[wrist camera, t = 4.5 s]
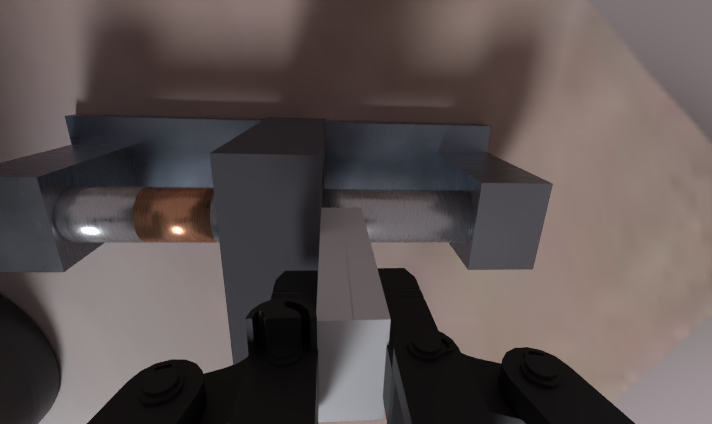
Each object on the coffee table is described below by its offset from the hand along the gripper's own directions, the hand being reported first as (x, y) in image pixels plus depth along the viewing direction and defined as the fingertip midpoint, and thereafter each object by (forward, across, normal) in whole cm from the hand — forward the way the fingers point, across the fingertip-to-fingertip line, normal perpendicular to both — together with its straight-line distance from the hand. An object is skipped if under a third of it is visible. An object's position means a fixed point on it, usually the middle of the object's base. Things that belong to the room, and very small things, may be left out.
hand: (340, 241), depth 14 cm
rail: (+9, -3, 0) cm, 9 cm away
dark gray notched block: (+7, -2, 0) cm, 8 cm away
